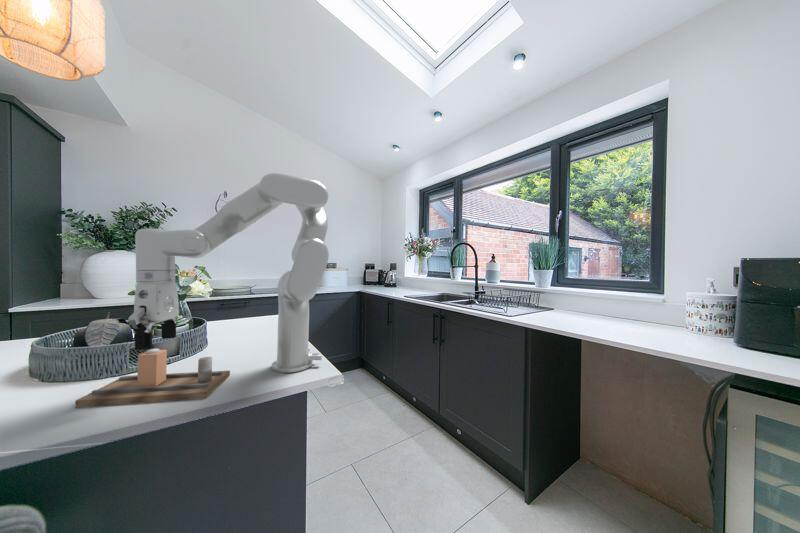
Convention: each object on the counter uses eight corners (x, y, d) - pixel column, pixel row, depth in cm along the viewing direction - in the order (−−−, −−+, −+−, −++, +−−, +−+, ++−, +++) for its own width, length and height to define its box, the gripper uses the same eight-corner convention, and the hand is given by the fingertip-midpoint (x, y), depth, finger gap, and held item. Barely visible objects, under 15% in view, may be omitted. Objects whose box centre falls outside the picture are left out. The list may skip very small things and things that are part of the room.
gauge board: (229, 375, 79) (230, 350, 79) (206, 398, 66) (207, 367, 66) (124, 381, 74) (125, 354, 74) (75, 407, 60) (76, 373, 60)
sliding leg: (166, 379, 72) (167, 347, 72) (155, 386, 68) (157, 352, 68) (148, 380, 71) (149, 347, 71) (137, 387, 67) (138, 352, 67)
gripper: (150, 278, 62) (151, 352, 62) (191, 275, 79) (191, 333, 79) (110, 279, 60) (112, 355, 60) (161, 275, 77) (162, 335, 77)
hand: (157, 343), depth 70 cm, fingers open, 9 cm apart
